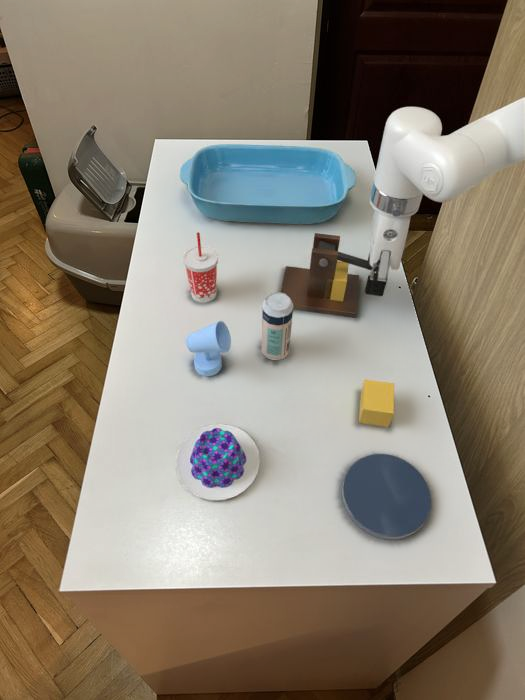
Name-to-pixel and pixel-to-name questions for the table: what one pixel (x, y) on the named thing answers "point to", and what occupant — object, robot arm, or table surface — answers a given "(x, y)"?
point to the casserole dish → (267, 183)
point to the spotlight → (209, 347)
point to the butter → (338, 282)
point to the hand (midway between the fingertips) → (374, 280)
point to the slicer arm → (347, 257)
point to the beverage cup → (201, 271)
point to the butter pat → (376, 403)
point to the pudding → (217, 462)
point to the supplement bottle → (276, 325)
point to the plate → (386, 496)
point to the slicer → (320, 282)
